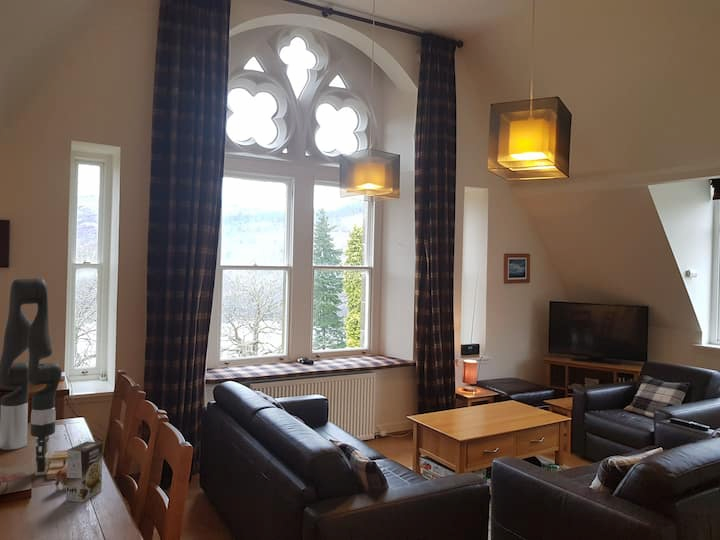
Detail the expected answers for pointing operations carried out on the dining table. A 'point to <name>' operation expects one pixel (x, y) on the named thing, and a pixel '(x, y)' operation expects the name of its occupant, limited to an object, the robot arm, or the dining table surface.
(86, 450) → the coffee box
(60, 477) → the bull figurine
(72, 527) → the dining table surface
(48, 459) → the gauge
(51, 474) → the board
